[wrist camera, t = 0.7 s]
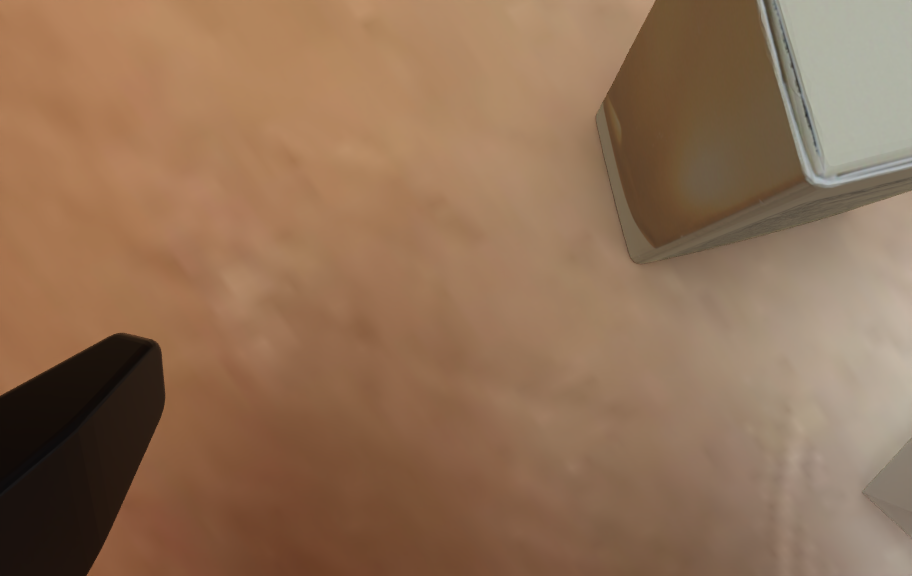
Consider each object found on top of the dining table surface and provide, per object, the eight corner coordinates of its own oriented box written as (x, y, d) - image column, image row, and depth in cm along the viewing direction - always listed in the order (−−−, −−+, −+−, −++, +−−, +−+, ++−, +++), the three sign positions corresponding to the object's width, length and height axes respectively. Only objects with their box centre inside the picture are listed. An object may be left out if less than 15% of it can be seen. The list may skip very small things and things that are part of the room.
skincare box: (812, 57, 22) (1255, -302, 9) (856, 212, 21) (1371, 53, 9) (579, 115, 22) (718, -166, 9) (620, 272, 21) (818, 193, 9)
